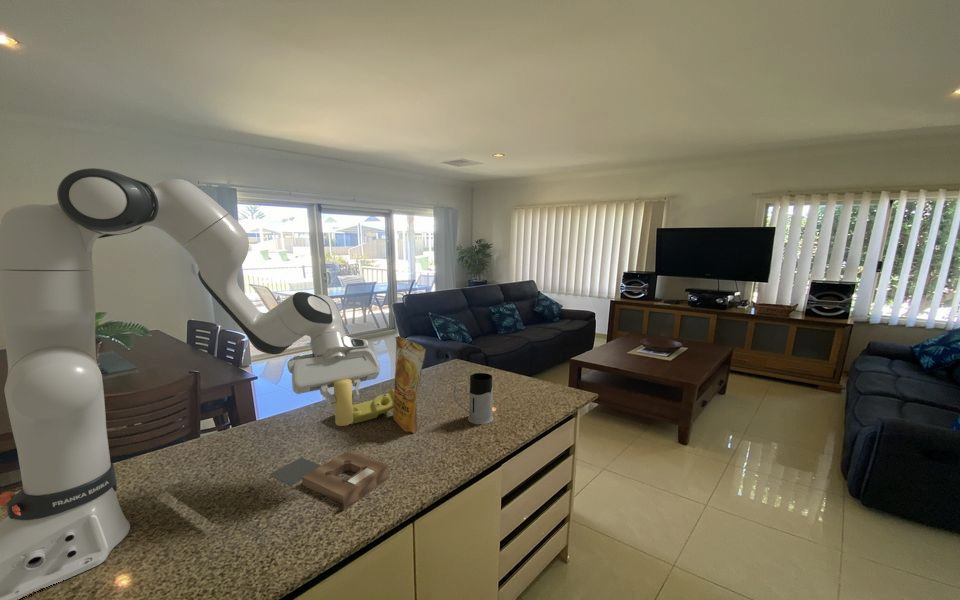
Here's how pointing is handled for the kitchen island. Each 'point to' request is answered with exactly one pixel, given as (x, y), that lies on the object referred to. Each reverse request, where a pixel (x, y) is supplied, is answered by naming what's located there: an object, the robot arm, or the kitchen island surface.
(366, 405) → the plastic component
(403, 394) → the pancake mix bag
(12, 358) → the robot arm
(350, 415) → the peg
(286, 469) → the plate
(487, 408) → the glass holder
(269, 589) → the kitchen island surface
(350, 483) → the hole block
